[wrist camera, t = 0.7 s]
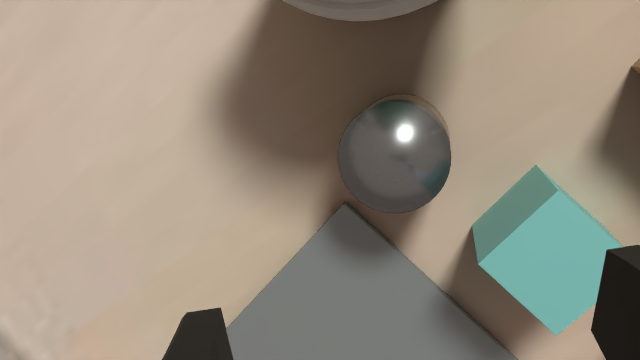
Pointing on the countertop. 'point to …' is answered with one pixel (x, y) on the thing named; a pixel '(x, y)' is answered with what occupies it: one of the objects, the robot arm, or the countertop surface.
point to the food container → (359, 8)
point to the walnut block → (636, 66)
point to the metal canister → (396, 154)
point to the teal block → (544, 249)
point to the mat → (356, 306)
